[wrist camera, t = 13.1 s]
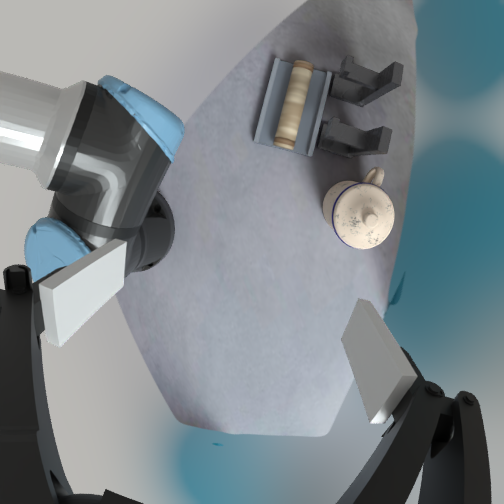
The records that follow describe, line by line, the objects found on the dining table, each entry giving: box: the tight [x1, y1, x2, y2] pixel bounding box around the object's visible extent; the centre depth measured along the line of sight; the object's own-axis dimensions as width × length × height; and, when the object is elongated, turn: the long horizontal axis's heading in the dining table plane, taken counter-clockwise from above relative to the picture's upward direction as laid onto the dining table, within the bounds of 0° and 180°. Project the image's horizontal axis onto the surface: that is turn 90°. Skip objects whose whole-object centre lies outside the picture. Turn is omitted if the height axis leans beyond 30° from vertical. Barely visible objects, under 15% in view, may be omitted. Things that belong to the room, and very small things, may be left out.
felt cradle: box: [254, 58, 332, 157], centre depth 40 cm, size 9×14×2 cm, turn 167°
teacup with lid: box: [323, 167, 394, 249], centre depth 39 cm, size 12×9×12 cm
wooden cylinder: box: [273, 60, 314, 150], centre depth 38 cm, size 14×3×3 cm, turn 166°
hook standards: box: [317, 55, 404, 158], centre depth 34 cm, size 6×13×14 cm, turn 167°
